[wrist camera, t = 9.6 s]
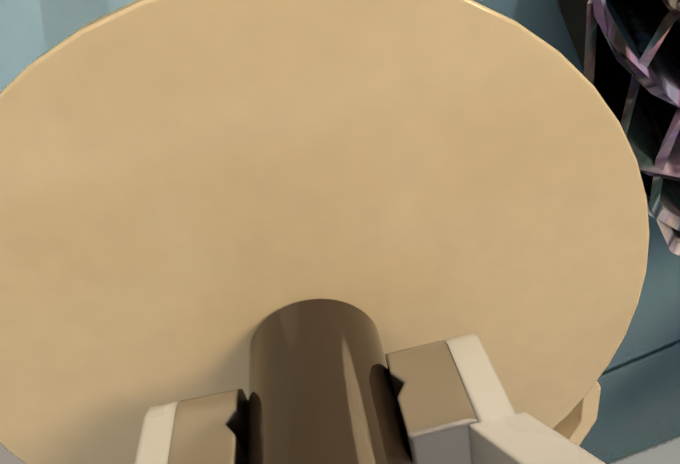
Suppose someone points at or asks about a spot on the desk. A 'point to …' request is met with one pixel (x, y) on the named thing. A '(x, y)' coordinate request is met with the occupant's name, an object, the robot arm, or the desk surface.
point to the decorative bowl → (638, 88)
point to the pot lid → (302, 221)
